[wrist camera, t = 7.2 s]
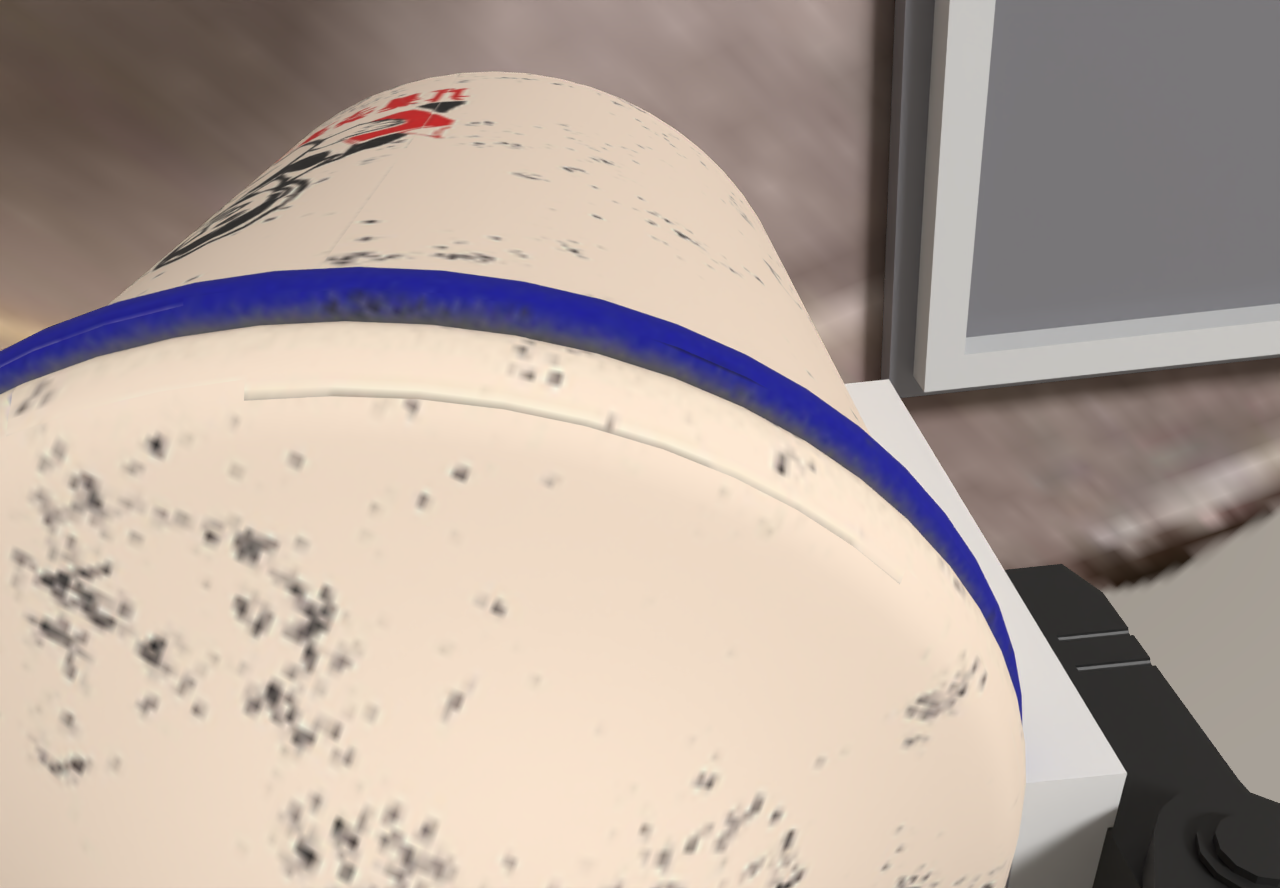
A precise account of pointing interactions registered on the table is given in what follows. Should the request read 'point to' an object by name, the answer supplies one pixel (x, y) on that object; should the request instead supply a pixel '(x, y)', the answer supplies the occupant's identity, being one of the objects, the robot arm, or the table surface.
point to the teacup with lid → (482, 544)
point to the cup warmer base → (1080, 190)
